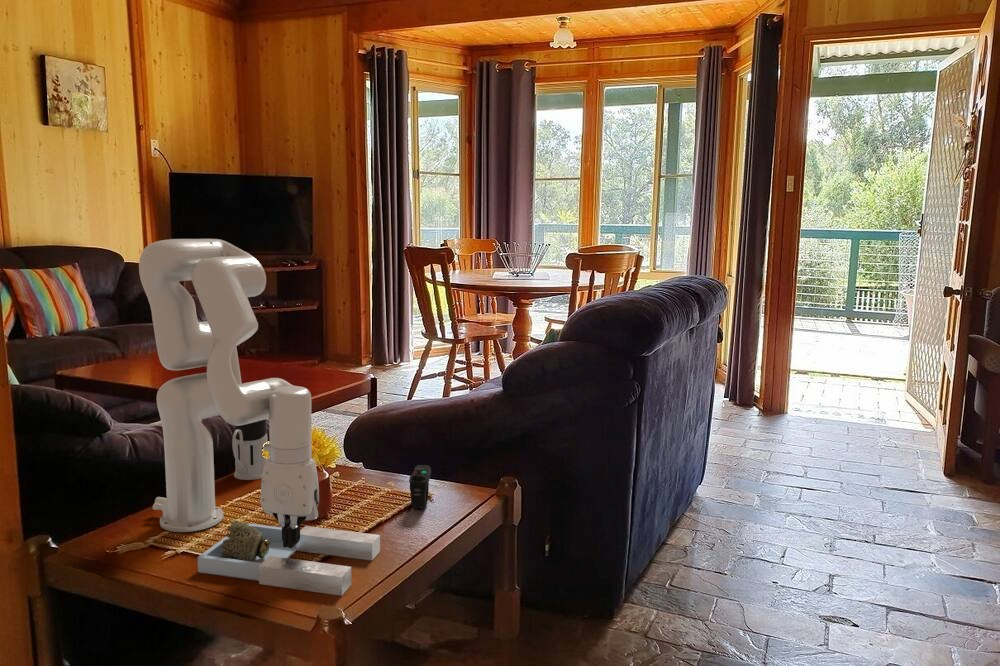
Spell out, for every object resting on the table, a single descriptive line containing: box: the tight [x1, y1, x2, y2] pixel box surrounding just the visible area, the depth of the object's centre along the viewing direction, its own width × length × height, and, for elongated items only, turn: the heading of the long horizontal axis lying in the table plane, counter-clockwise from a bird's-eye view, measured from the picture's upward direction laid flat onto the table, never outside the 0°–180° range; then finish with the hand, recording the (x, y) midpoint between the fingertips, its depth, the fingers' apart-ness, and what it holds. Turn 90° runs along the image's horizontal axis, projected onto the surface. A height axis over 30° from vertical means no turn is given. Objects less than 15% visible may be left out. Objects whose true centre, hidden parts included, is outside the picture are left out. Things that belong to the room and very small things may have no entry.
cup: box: [220, 520, 270, 561], centre depth 144 cm, size 8×7×8 cm
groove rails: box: [258, 525, 381, 597], centre depth 142 cm, size 16×18×4 cm
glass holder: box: [231, 419, 268, 481], centre depth 187 cm, size 9×14×15 cm, turn 174°
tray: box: [197, 522, 296, 582], centre depth 145 cm, size 13×16×3 cm
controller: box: [408, 464, 432, 509], centre depth 173 cm, size 4×12×10 cm, turn 179°
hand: (291, 544), depth 144 cm, fingers closed
